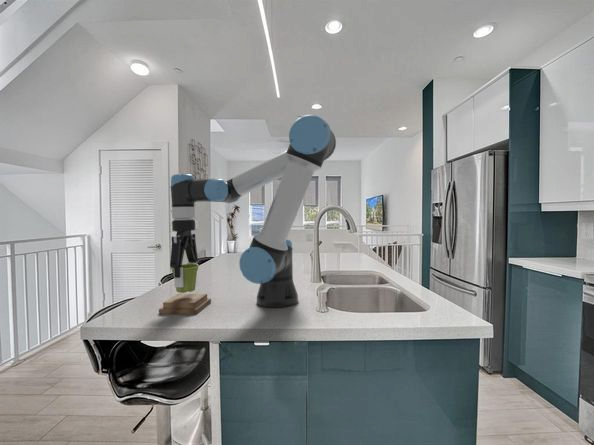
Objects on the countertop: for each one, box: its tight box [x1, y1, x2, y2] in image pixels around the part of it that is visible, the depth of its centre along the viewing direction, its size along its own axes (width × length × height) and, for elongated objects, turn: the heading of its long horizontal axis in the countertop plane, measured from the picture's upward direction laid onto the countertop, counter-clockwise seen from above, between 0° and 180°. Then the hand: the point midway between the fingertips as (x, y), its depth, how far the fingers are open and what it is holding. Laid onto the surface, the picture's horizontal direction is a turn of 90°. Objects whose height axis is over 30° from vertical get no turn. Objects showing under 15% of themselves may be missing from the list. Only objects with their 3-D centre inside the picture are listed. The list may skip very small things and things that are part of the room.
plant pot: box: [170, 263, 200, 294], centre depth 110 cm, size 9×9×9 cm
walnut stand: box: [158, 293, 212, 315], centre depth 111 cm, size 13×13×4 cm
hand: (185, 283), depth 110 cm, fingers closed on plant pot, 9 cm apart
